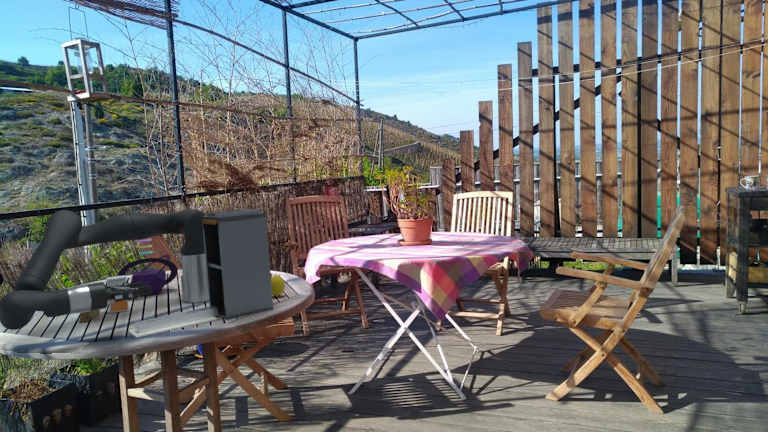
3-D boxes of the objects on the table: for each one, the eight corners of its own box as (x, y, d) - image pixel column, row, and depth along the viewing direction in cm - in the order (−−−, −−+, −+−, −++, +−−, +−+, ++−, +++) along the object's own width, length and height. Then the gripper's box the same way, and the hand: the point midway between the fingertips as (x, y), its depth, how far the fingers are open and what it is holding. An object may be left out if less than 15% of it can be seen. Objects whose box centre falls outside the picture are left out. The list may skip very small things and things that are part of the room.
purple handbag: (180, 285, 228) (175, 226, 226) (179, 295, 208) (173, 231, 206) (122, 292, 221) (115, 231, 218) (114, 303, 201) (108, 236, 199)
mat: (136, 337, 155) (136, 336, 155) (128, 331, 162) (128, 330, 162) (217, 319, 170) (217, 318, 170) (206, 314, 177) (206, 313, 177)
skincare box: (109, 313, 185) (106, 279, 184) (109, 311, 189) (106, 277, 188) (129, 310, 188) (126, 276, 187) (128, 308, 192) (125, 275, 191)
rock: (87, 317, 173) (112, 305, 181) (72, 297, 173) (97, 286, 182) (74, 333, 178) (99, 321, 186) (59, 314, 178) (84, 303, 187)
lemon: (281, 298, 193) (280, 276, 193) (267, 298, 194) (265, 276, 194) (287, 295, 199) (285, 273, 198) (273, 295, 200) (271, 273, 199)
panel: (134, 322, 161) (135, 330, 161) (138, 324, 158) (139, 333, 158) (212, 305, 176) (212, 313, 176) (217, 307, 173) (218, 315, 173)
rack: (225, 319, 169) (216, 214, 166) (208, 312, 180) (199, 212, 177) (273, 308, 179) (265, 209, 176) (254, 302, 190) (247, 208, 187)
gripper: (82, 307, 156) (142, 296, 166) (93, 315, 145) (156, 303, 155) (80, 281, 156) (139, 272, 166) (90, 288, 145) (153, 278, 155)
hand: (147, 287), depth 161 cm, fingers open, 8 cm apart
